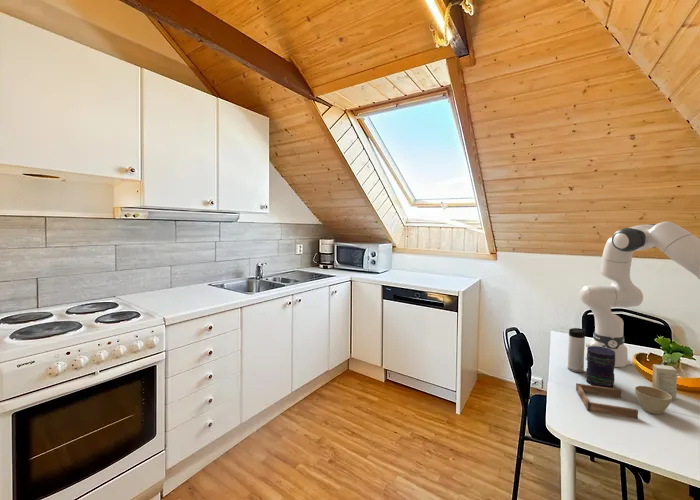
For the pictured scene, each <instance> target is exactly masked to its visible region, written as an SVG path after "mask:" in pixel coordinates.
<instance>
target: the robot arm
mask: <svg viewBox="0 0 700 500" xmlns="http://www.w3.org/2000/svg"><path fill="white" fill-rule="evenodd" d="M652 248H654V249H655V248H657V249H659V250H660V251H661V252H662V253H664V255H666V256H667V257H668V258H670V259H671V260H672V261H674V263H676V264H678V265H679V266H681V267H682V268H683V269H686V271H688V272H689V273H691V274H693V275H694V276H695V277H696V278H697V279H699V280H700V239H699V238H698V237H697V236H696V235H694V234H693V233H692V232H689V230H687V229H686V228H683V227H682V226H680V225H678V224H677V223H674V222H672V221H661V222H658V223H656V224H655V223H648V224H637V225H634V226H629V227H623V228H621V229H619V230H616V231H615V232H614V233H613V234H612V236H611V237H609V238H608V239H607V240H606V243H605V245H604V247H603V251H602V256H601V261H600V269H599V271H600V273H601V275H602V276H603V277H604V278H605V279H608V280H610V281H611V283H609V284H589V285H588V284H587V285H584V286H582V288H580V290H579V298H580V301H581V302H582V303H583V304H584V305H585V306H587V307H588V308H589V309H590V310H591V312H592V314H593V317H594V327H595V328H594V331H593V335H592V339H591V340H590V341H588V343H587V342H585V348H584V360H587V351H588V350H587V348H588V347H590V346H599V347H603V346H602V345H605V346H606V347H604V348H608V349H611V350H613V351H614V352H615V366H614V368H624V367H626V366H629V365H632V361H631V360H629V358H628V347H627V346H626V345H625V336H624V320H623V318H621V317H620V316H619V315H617V314H615V313H613V312H612V308H634V307H638V306H639V307H640V306H641V304H642V303H643V302H644V294H643V292H642V290H641V289H640V288H639V287H637V286H636V285H635V284H634V283H633V281H632V279H631V266H632V260H633V254H634V252H637V251H644V250H649V249H652Z"/></svg>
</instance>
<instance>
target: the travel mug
mask: <svg viewBox="0 0 700 500" xmlns="http://www.w3.org/2000/svg"><path fill="white" fill-rule="evenodd" d="M586 330H587V329H585V328H579V327H573V328H569V329H568V346H567V347H568V349H567V351H568V352H567V354H568V355H567V369H568V370H569V371H571V372H573V373H584V370H585V369H584V367H585V356H584V348H586V336H585V335H586V332H587V331H586Z"/></svg>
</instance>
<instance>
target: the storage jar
mask: <svg viewBox="0 0 700 500" xmlns="http://www.w3.org/2000/svg"><path fill="white" fill-rule="evenodd" d="M602 346H603V347H599V346H590V347H588V348H587V350H588V351H587V359H586V361H587V363H586V364H587V366H586V367H587V368H586V372H585V377H586V379H585V381H586V383H587V385H592V386H599V387H607V388H614V389H615V385H614V384H615V378H616V377H615V373H614V372H615V367H614V366H615V352H614V351H613V350H611V349H608V348H604V347H606V346H605V345H602Z"/></svg>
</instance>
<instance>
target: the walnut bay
mask: <svg viewBox="0 0 700 500" xmlns="http://www.w3.org/2000/svg"><path fill="white" fill-rule="evenodd" d="M575 391H576V392H577V395H578V396H579V399H580V400H581V402H582V403H583V405H584V407H585V409H586V411H588V412H593V413H600V414H607V415H611V416H612V415H613V416H618V417H625V418H632V419H637V420H638V418H639V409H637V408H633V407H632V408H631V407H624V406H618V405H612V404H605V403H600V402H599V403H598V402H592V401H590V400H589V398H588V395H586V393H587V394H593V395H599V396H607V397H613V398H620V399H621V398H622V390H621V389H620V388H615V387H614V388H607V387H599V386H592V385H590V384H583V383H579V382H578V383H577V382H576V383H575Z"/></svg>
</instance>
